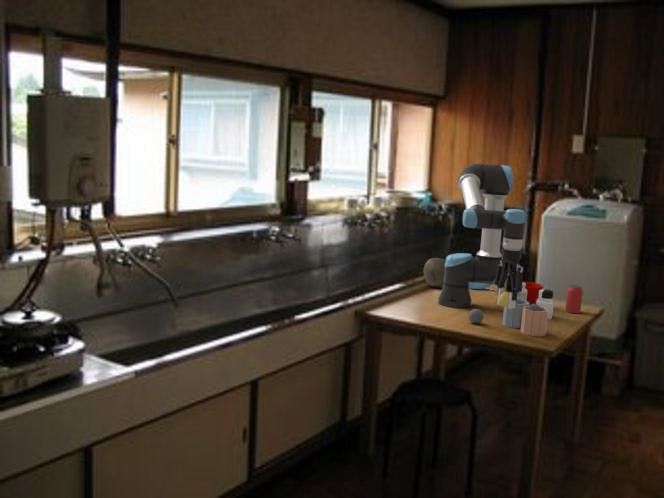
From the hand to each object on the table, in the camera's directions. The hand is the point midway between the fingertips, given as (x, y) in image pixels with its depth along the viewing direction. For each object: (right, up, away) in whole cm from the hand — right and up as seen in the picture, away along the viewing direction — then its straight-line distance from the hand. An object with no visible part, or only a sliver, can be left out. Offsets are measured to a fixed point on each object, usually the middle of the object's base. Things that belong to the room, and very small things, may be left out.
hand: (505, 305), depth 293 cm
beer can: (+41, -6, +45) cm, 62 cm away
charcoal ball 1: (-9, -8, +13) cm, 18 cm away
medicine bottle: (+24, -7, +33) cm, 41 cm away
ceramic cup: (+22, -4, +55) cm, 60 cm away
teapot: (+4, +2, +87) cm, 87 cm away
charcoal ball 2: (+12, -5, +2) cm, 13 cm away
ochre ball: (0, 0, 0) cm, 0 cm away
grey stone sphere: (-16, +3, +82) cm, 84 cm away
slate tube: (+7, -9, +14) cm, 18 cm away
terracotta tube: (+12, -11, +3) cm, 17 cm away
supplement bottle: (+15, -5, +41) cm, 44 cm away
